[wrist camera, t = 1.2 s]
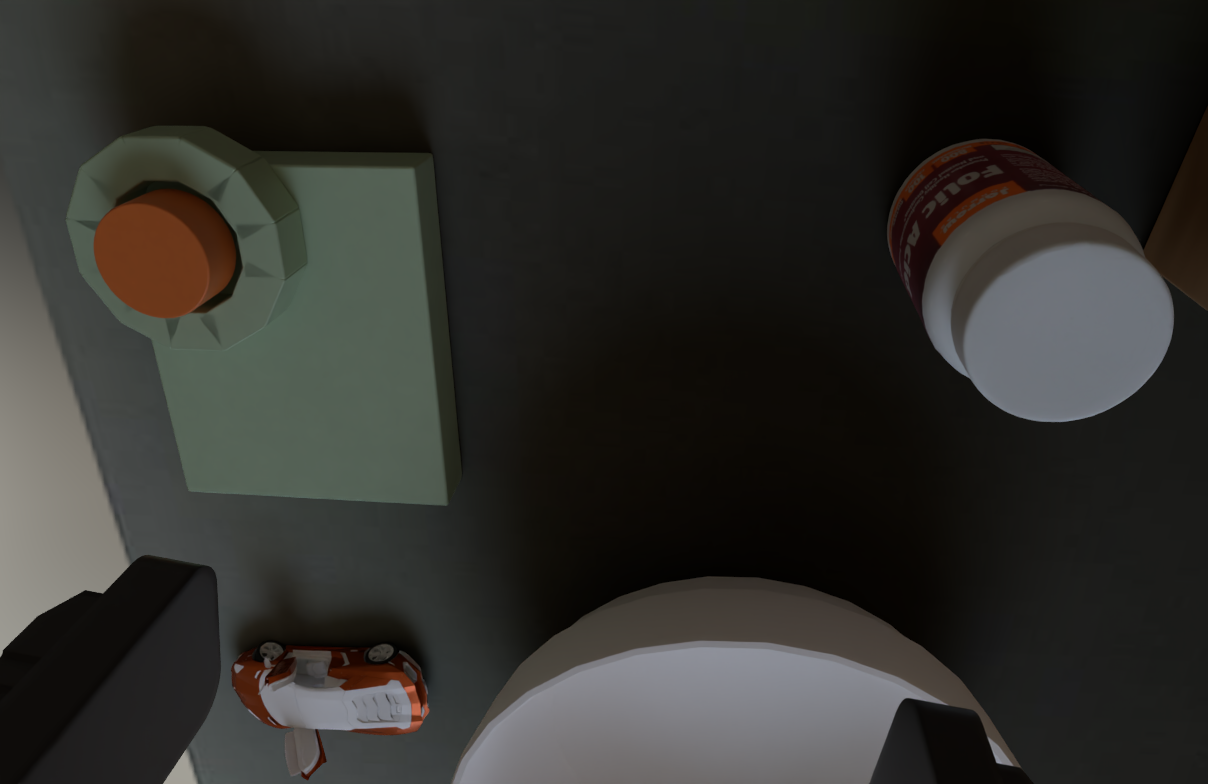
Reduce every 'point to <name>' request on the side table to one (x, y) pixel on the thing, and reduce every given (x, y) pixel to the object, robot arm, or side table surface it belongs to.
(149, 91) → the side table surface
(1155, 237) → the block
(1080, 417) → the pill bottle
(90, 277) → the green board with knob
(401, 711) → the toy car
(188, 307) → the button
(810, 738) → the bowl
